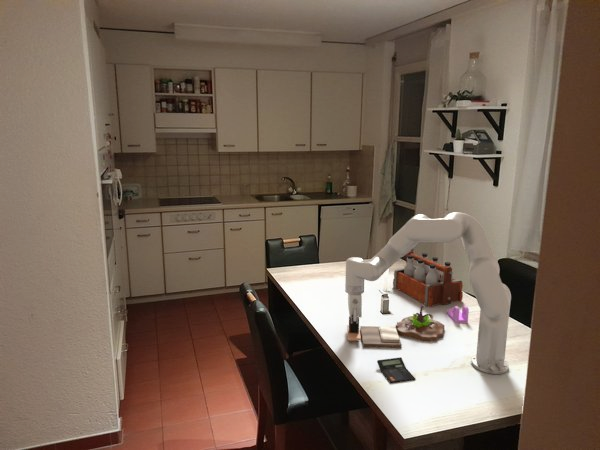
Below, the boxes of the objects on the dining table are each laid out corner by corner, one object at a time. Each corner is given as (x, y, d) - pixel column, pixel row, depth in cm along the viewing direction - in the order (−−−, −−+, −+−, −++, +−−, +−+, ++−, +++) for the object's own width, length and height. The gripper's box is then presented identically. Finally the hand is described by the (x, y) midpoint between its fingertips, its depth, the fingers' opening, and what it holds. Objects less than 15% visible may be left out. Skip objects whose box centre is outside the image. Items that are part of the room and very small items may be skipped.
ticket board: (401, 347, 181) (401, 341, 180) (363, 346, 182) (363, 340, 181) (395, 330, 197) (395, 324, 196) (360, 329, 198) (360, 323, 197)
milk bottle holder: (421, 281, 259) (423, 248, 255) (465, 302, 227) (468, 265, 223) (389, 286, 251) (391, 252, 247) (431, 309, 219) (434, 270, 215)
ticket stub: (360, 340, 184) (361, 324, 182) (348, 340, 184) (348, 324, 182) (358, 327, 195) (359, 312, 194) (346, 327, 196) (347, 312, 194)
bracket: (467, 322, 204) (469, 308, 203) (455, 323, 204) (456, 308, 203) (457, 311, 217) (458, 297, 215) (445, 311, 217) (446, 297, 215)
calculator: (390, 384, 156) (390, 376, 156) (376, 367, 167) (377, 359, 167) (415, 380, 158) (415, 372, 158) (400, 364, 170) (400, 356, 169)
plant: (450, 328, 200) (451, 303, 197) (437, 345, 184) (438, 319, 181) (405, 317, 210) (407, 294, 208) (389, 333, 194) (391, 309, 192)
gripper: (365, 295, 177) (364, 339, 181) (362, 281, 193) (361, 322, 197) (346, 295, 177) (345, 339, 181) (344, 281, 193) (343, 321, 197)
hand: (353, 329), depth 189 cm, fingers closed on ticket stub, 3 cm apart
